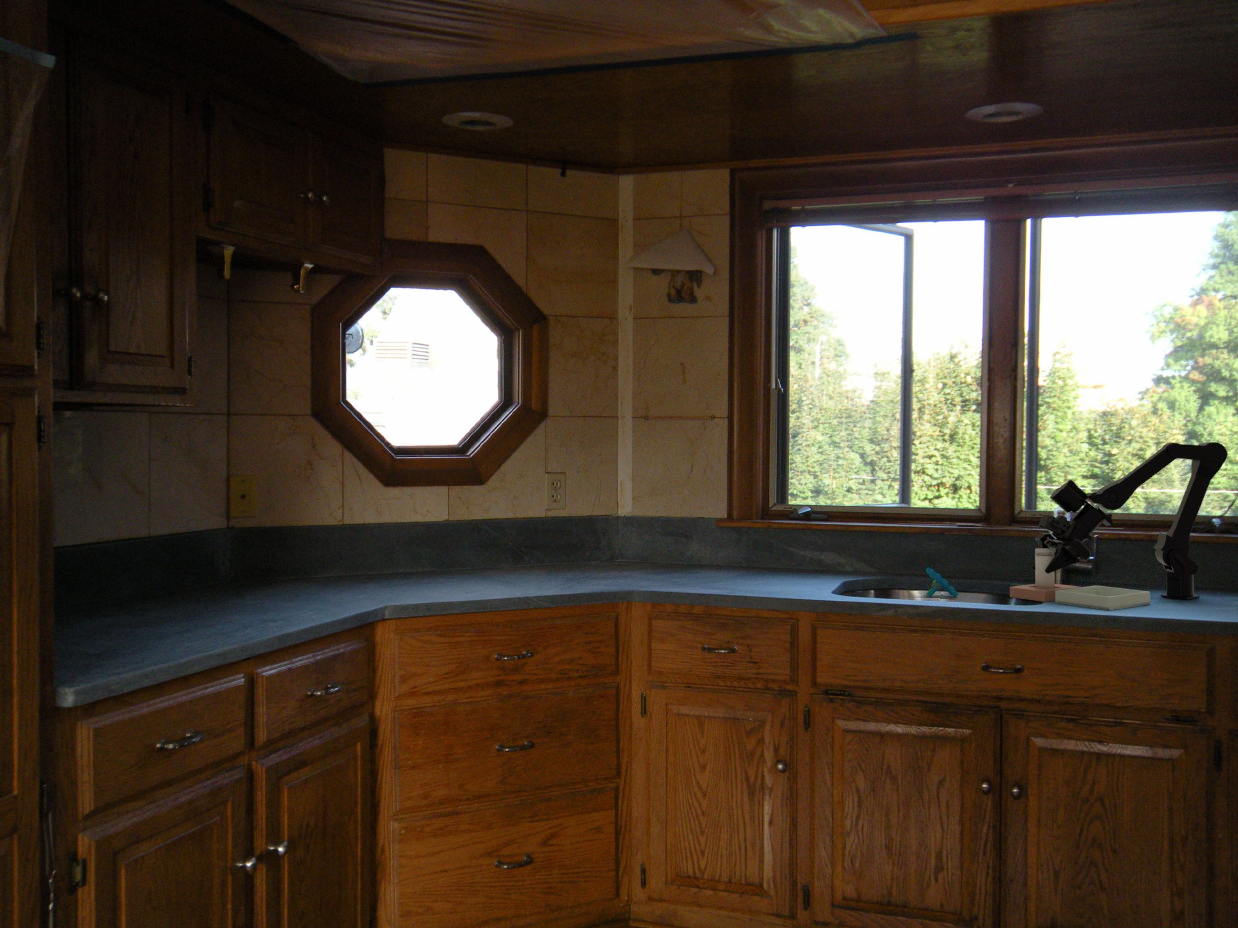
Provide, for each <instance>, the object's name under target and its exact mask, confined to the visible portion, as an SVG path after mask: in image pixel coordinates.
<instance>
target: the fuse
mask: <svg viewBox="0 0 1238 928" xmlns="http://www.w3.org/2000/svg"><path fill="white" fill-rule="evenodd" d="M1034 557H1035V558H1034V559H1035V560H1034V561H1035V570H1034V572H1035V581H1034V582H1035V583H1034V584H1035V588H1043V589H1053V588H1054V584H1055V571H1054V572H1051V573H1049V574H1047V573H1046V572H1045V569H1046V567H1047V566H1048V565H1049V563H1050V562H1051V561H1052V559H1053V558H1054V549H1048V548H1039V547H1038V548H1035V549H1034Z"/></svg>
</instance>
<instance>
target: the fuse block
mask: <svg viewBox="0 0 1238 928" xmlns="http://www.w3.org/2000/svg"><path fill="white" fill-rule="evenodd" d="M1073 588H1081V586H1075V585H1066V584H1059V583H1054V588H1053V589H1043V588H1035V583H1034V584H1033V583H1032V584H1025V585H1015V586H1009V598H1014V599H1023V600H1030V601H1036V602H1044V603H1045V602H1051V601H1055V591H1057V590H1065V589H1073Z"/></svg>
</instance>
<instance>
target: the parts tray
mask: <svg viewBox="0 0 1238 928" xmlns="http://www.w3.org/2000/svg"><path fill="white" fill-rule="evenodd" d="M1054 601H1055V604H1059V605H1065V604H1067V606H1072V605H1075V606H1074V607H1080V606H1082V607H1081V608H1087V607H1089V608H1088V609H1094V608H1095V610H1102V609H1106V610H1105V611H1109V610H1110V611H1114V609H1116V610H1122V609H1128V608H1135V607H1142V606H1148V605H1151V591H1145V590H1138V589H1130V588H1121V587H1113V586H1112V587H1111V586H1103V585H1091V586H1090V585H1089V586H1083V587H1081V586H1080V588H1073V589H1065V590H1057V591H1055V600H1054Z"/></svg>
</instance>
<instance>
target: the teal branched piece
mask: <svg viewBox="0 0 1238 928" xmlns="http://www.w3.org/2000/svg"><path fill="white" fill-rule="evenodd" d="M925 572H926V574H927V575H929V577H930V578H931V580H933V581H932V584H931V585H930V586H931V588H930V589H929V590H928V591H927V592H926V593H925V594H926V596H927V597H928V598H931V597H932V596H933V595H935V593H936V592H937V591H939V590H941V589H942V590H944V591H945V592H947V593H948V594H949V595H950V596H953V597H954V598H957V597H958V596H959V593H958V591H957V590H956V589H955V588H954V586H952V585H950V584H949V583H950V582H948V581H949V580H947V579H945V578H943V577H942V575H941V574H939V573H938V572H936V571H935V570H934V569H933V568H930V567H927V568H926V569H925Z"/></svg>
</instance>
